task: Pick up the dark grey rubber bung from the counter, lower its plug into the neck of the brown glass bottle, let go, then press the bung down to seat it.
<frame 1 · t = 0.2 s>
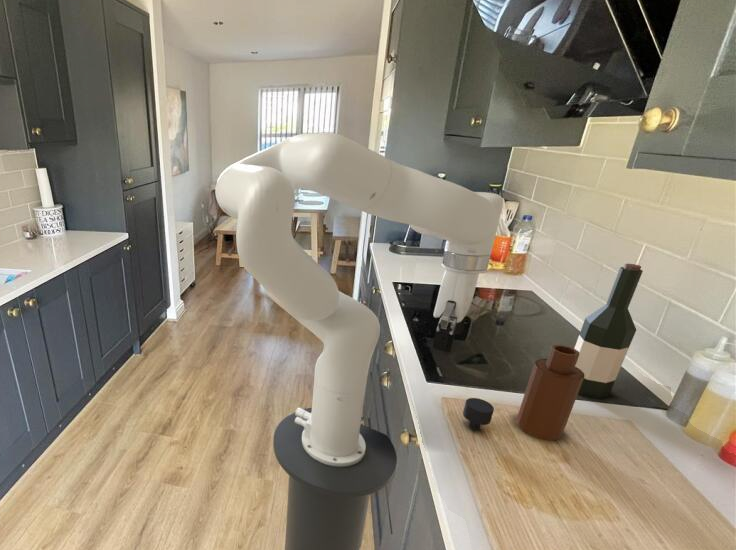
hand: (447, 341, 81), 16 cm above the countertop, tool pointing down, fingers open, 9 cm apart
wine bottle: (584, 388, 93), on the countertop
bung: (473, 427, 81), on the countertop
brown bottle: (538, 427, 80), on the countertop
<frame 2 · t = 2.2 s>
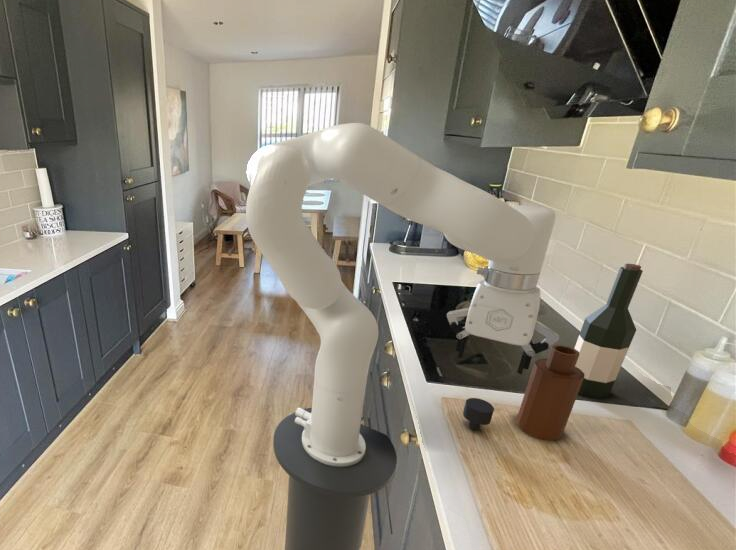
hand: (489, 362, 76), 15 cm above the countertop, tool pointing down, fingers open, 9 cm apart
nothing on the countertop moved.
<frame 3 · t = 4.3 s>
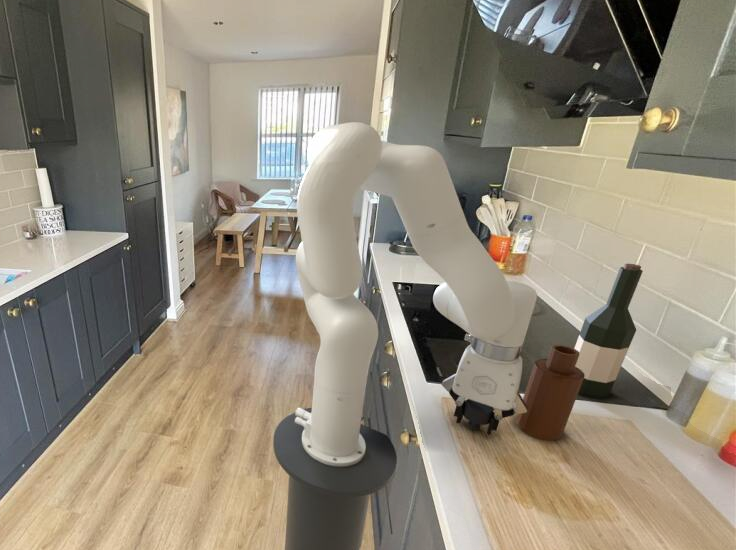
hand: (474, 424, 81), 1 cm above the countertop, tool pointing down, fingers closed on bung, 4 cm apart
bung: (473, 427, 81), on the countertop, touching gripper
everything else where it was.
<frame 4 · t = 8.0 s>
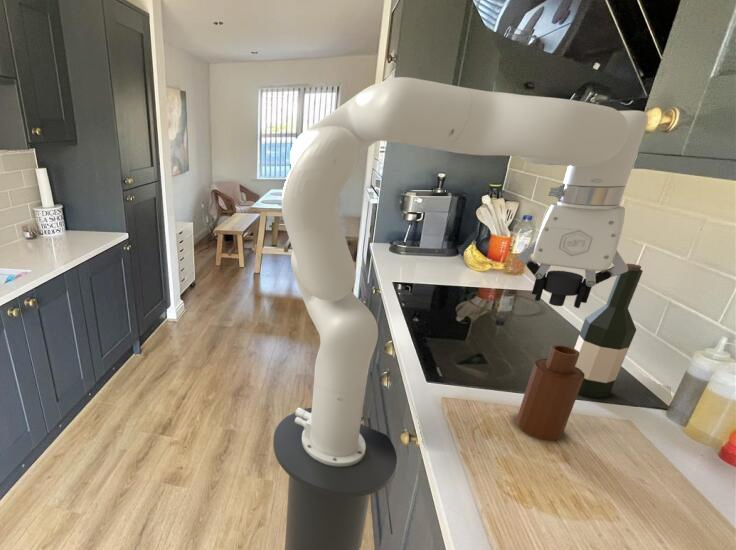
hand: (557, 301, 70), 28 cm above the countertop, tool pointing down, fingers closed on bung, 4 cm apart
bung: (555, 304, 70), point 27 cm above the countertop, touching gripper
everything else where it was.
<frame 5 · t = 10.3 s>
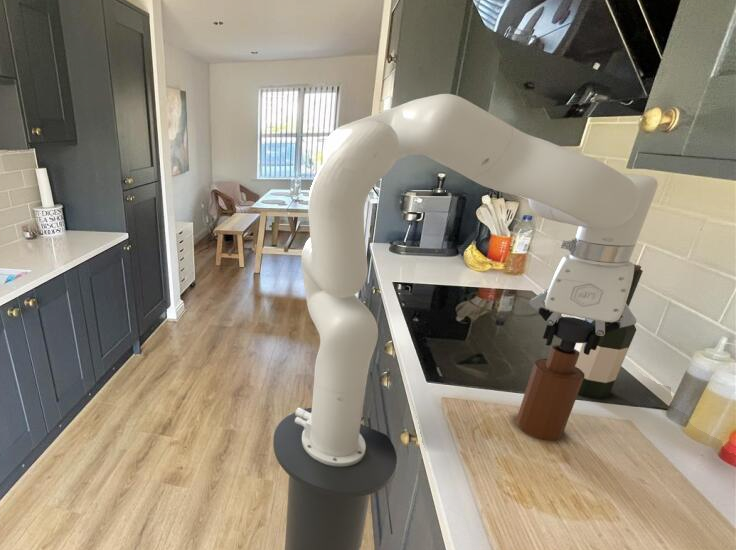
hand: (567, 346, 73), 19 cm above the countertop, tool pointing down, fingers closed on bung, 4 cm apart
bung: (566, 349, 74), point 18 cm above the countertop, touching gripper
everything else where it was.
when the fingers open (16 cm above the countertop, at t = 11.7 s): bung stays where it is, resting on brown bottle.
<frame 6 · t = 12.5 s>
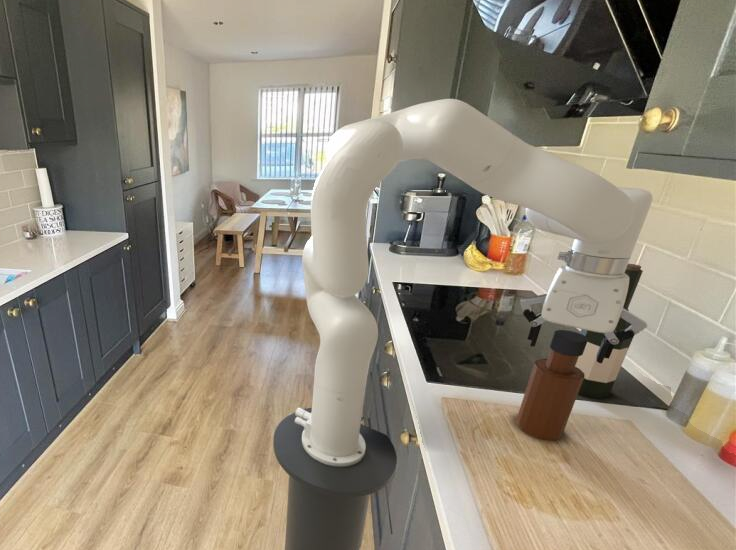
hand: (564, 351, 74), 18 cm above the countertop, tool pointing down, fingers open, 9 cm apart
bung: (561, 361, 75), point 15 cm above the countertop, touching brown bottle
everything else where it was.
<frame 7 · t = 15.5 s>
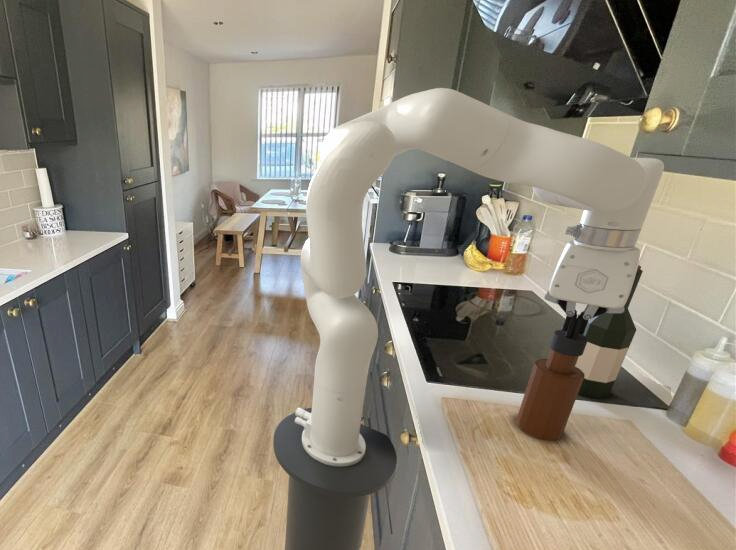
hand: (571, 335, 72), 21 cm above the countertop, tool pointing down, fingers closed
bung: (561, 361, 75), point 15 cm above the countertop, touching brown bottle, gripper
everything else where it was.
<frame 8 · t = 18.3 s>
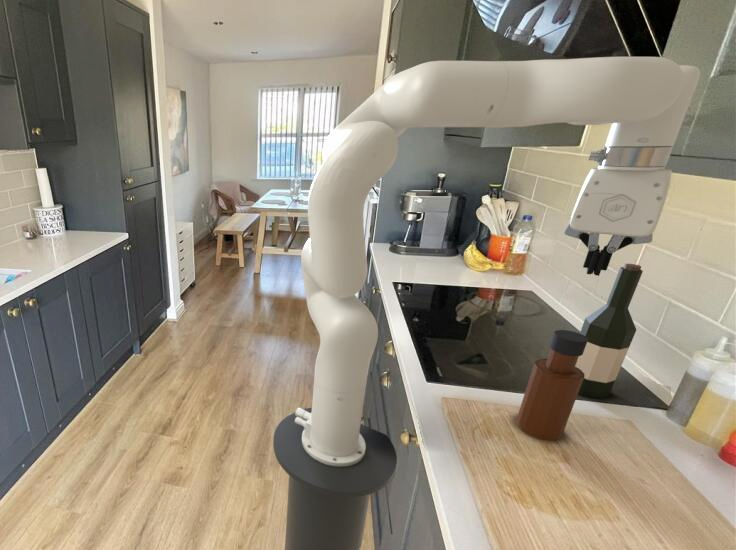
hand: (592, 272, 68), 33 cm above the countertop, tool pointing down, fingers closed
bung: (561, 361, 75), point 15 cm above the countertop, touching brown bottle
everything else where it was.
at the end: bung 0.1 cm off-centre in the brown bottle, point 15.5 cm above the brown bottle's base; bung tilted 0°; the gripper is holding nothing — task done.
